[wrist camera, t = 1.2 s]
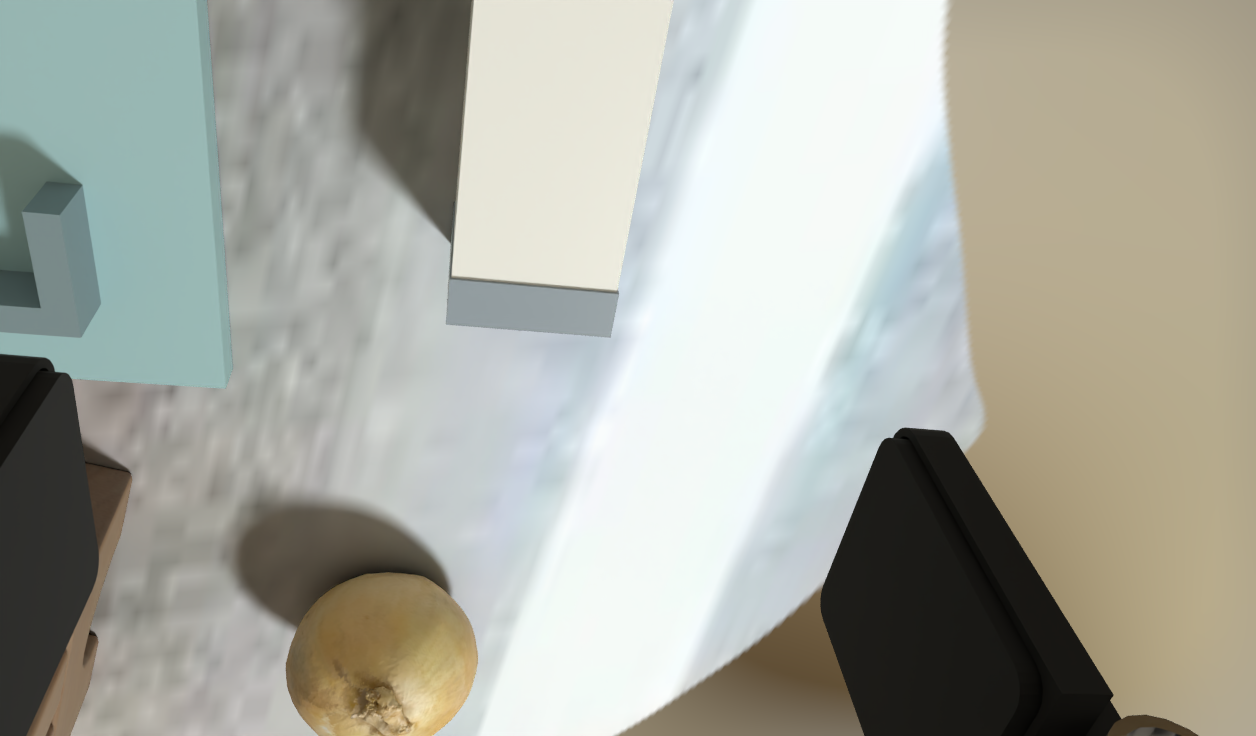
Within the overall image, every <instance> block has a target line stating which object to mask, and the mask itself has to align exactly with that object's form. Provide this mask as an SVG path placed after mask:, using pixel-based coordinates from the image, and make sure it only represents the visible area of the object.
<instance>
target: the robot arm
mask: <svg viewBox="0 0 1256 736" xmlns="http://www.w3.org/2000/svg"><path fill="white" fill-rule="evenodd" d="M98 568H99V550H98V544H97V537H96V531H95V524H94V518H93V511H92V505H91V498H90V492H89V485H88V479H87V472H86V466H85V459H84V453H83V446H82V440H81V433H80V427H79V420H78V414H77V407H76V401H75V394H74V388H73V383H72V379H71V377H70V375H69V374H67V373H63V372H55V369H54V366H53V364H52V362H51V361H50V360H49V359H47V358H45V357H33V356H21V355H8V354H0V736H26V735H27V733H28V731H29V728H30V726H31V724H32V722H33V720H34V717H35V715H36V713H37V711H38V709H39V707H40V704H41V702H42V700H43V698H44V696H45V693H46V691H47V689H48V687H49V685H50V682H51V680H52V678H53V676H54V674H55V671H56V669H57V667H58V665H59V663H60V660H61V658H62V656H63V654H64V652H65V649H66V647H67V645H68V643H69V641H70V638H71V636H72V634H73V632H74V630H75V627H76V625H77V623H78V621H79V619H80V616H81V614H82V612H83V610H84V608H85V605H86V603H87V601H88V599H89V597H90V594H91V592H92V590H93V587H94V585H95V582H96V578H97V574H98ZM821 613H822V617H823V620H824V623H825V626H826V629H827V632H828V634H829V637H830V640H831V643H832V645H833V648H834V651H835V654H836V657H837V660H838V663H839V665H840V668H841V671H842V674H843V677H844V679H845V682H846V685H847V688H848V691H849V694H850V696H851V699H852V702H853V705H854V707H855V710H856V713H857V716H858V719H859V722H860V724H861V727H862V730H863V733H864V736H1198V735H1197V734H1195V733H1194V732H1192V731H1191V730H1189V729H1187V728H1185V727H1183V726H1180V725H1178V724H1176V723H1174V722H1172V721H1169V720H1167V719H1163V718H1158V717H1154V716H1149V715H1132V716H1127V717H1125V718H1123V719H1121V718H1120V716H1119V714H1118V713H1117V711H1116V709H1115V708H1114V706H1113V704H1112V703H1111V701H1110V700H1111V698H1112V697H1113V693H1112V692H1111V690H1110V689H1109V687H1108V685H1107V684H1106V682H1105V680H1104V679H1103V677H1102V676H1101V674H1100V672H1099V671H1098V669H1097V668H1096V666H1095V664H1094V663H1093V661H1092V659H1091V658H1090V656H1089V655H1088V653H1087V652H1086V650H1085V648H1084V647H1083V645H1082V643H1081V642H1080V640H1079V639H1078V637H1077V635H1076V634H1075V632H1074V631H1073V629H1072V627H1071V626H1070V624H1069V623H1068V621H1067V619H1066V618H1065V616H1064V615H1063V613H1062V611H1061V610H1060V608H1059V606H1058V605H1057V603H1056V602H1055V600H1054V598H1053V597H1052V595H1051V594H1050V592H1049V590H1048V589H1047V587H1046V586H1045V584H1044V582H1043V581H1042V579H1041V577H1040V576H1039V574H1038V573H1037V571H1036V569H1035V568H1034V566H1033V565H1032V563H1031V561H1030V560H1029V559H1028V557H1027V555H1026V553H1025V552H1024V550H1023V548H1022V547H1021V545H1020V544H1019V542H1018V540H1017V539H1016V537H1015V536H1014V534H1013V532H1012V531H1011V529H1010V528H1009V526H1008V524H1007V523H1006V521H1005V519H1004V518H1003V516H1002V515H1001V513H1000V511H999V510H998V508H997V507H996V505H995V503H994V502H993V500H992V499H991V497H990V495H989V494H988V492H987V491H986V489H985V487H984V486H983V484H982V482H981V481H980V480H979V478H978V476H977V475H976V473H975V471H974V470H973V468H972V466H971V465H970V463H969V462H968V460H967V458H966V457H965V455H964V454H963V452H962V450H961V449H960V447H959V445H958V444H957V442H956V441H955V439H954V438H953V436H952V435H951V434H950V433H948V432H946V431H940V430H928V429H916V428H902V429H900V430H899V431H898V432H896V433H895V435H894V437H893V438H886V439H884V440H883V441H882V443H881V445H880V446H879V449H878V451H877V454H876V456H875V458H874V461H873V463H872V466H871V468H870V471H869V473H868V476H867V478H866V481H865V483H864V486H863V488H862V491H861V493H860V496H859V498H858V501H857V503H856V506H855V508H854V511H853V513H852V516H851V518H850V521H849V523H848V526H847V528H846V531H845V533H844V536H843V538H842V541H841V543H840V545H839V548H838V550H837V553H836V555H835V558H834V560H833V563H832V565H831V568H830V570H829V573H828V575H827V578H826V580H825V583H824V585H823V588H822V593H821Z"/></svg>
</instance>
